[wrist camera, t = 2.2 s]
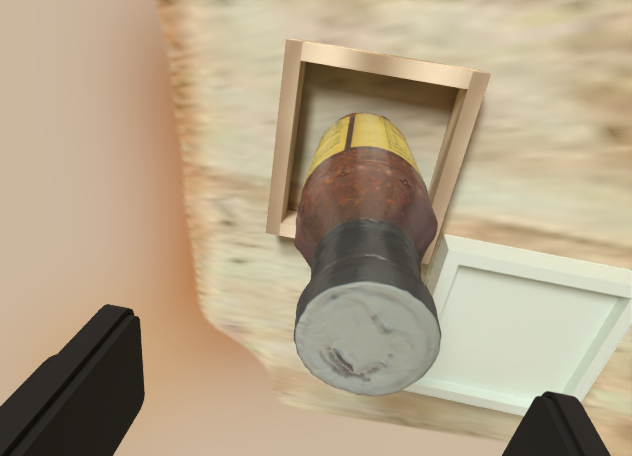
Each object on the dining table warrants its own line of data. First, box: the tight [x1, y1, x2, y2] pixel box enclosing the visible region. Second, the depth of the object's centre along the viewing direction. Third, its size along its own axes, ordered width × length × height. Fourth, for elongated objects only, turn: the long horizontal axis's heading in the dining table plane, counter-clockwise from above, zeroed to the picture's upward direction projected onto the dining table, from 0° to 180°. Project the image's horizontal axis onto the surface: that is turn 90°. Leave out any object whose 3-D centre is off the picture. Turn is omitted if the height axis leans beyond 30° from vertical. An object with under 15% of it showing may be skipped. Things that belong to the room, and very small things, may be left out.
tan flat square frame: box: [266, 39, 491, 265], centre depth 28 cm, size 12×13×2 cm
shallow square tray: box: [403, 234, 632, 416], centre depth 32 cm, size 14×14×2 cm
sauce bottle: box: [294, 113, 441, 396], centre depth 20 cm, size 7×6×20 cm
